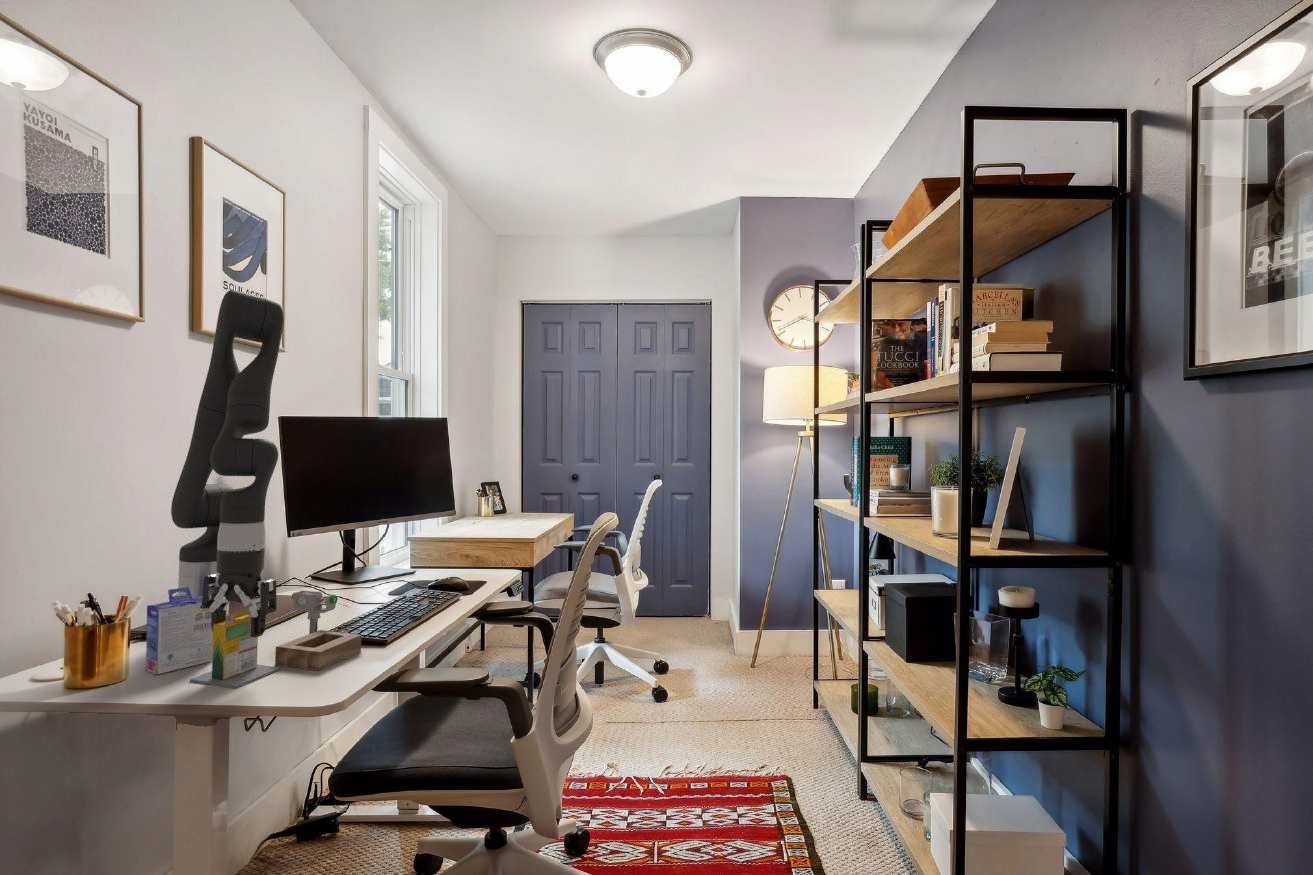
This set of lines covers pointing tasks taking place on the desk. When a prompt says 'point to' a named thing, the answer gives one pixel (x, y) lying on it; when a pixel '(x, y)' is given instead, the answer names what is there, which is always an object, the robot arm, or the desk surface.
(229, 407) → the robot arm
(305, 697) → the desk surface
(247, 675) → the mat
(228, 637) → the crayon box
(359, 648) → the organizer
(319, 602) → the mechanical component
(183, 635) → the ink cartridge box
